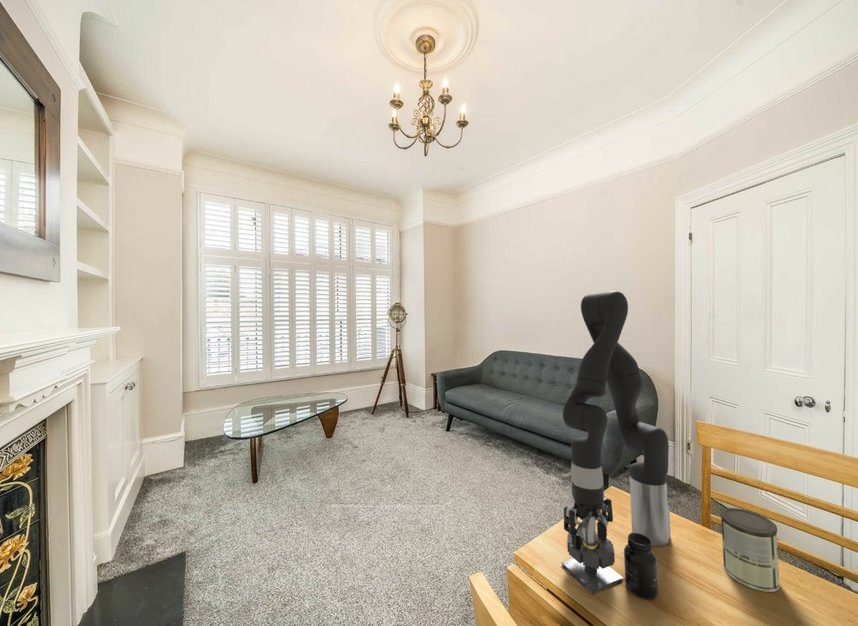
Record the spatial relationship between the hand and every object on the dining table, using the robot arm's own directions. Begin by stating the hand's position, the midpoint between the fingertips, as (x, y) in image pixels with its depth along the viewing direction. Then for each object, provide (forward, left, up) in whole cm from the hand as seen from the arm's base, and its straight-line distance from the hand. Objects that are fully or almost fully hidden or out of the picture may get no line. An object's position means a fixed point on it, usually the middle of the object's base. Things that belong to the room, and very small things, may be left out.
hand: (589, 543), depth 86 cm
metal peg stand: (0, 0, -8) cm, 8 cm away
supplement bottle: (-7, +9, -8) cm, 14 cm away
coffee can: (-35, +17, -8) cm, 40 cm away
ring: (0, 0, -2) cm, 2 cm away
